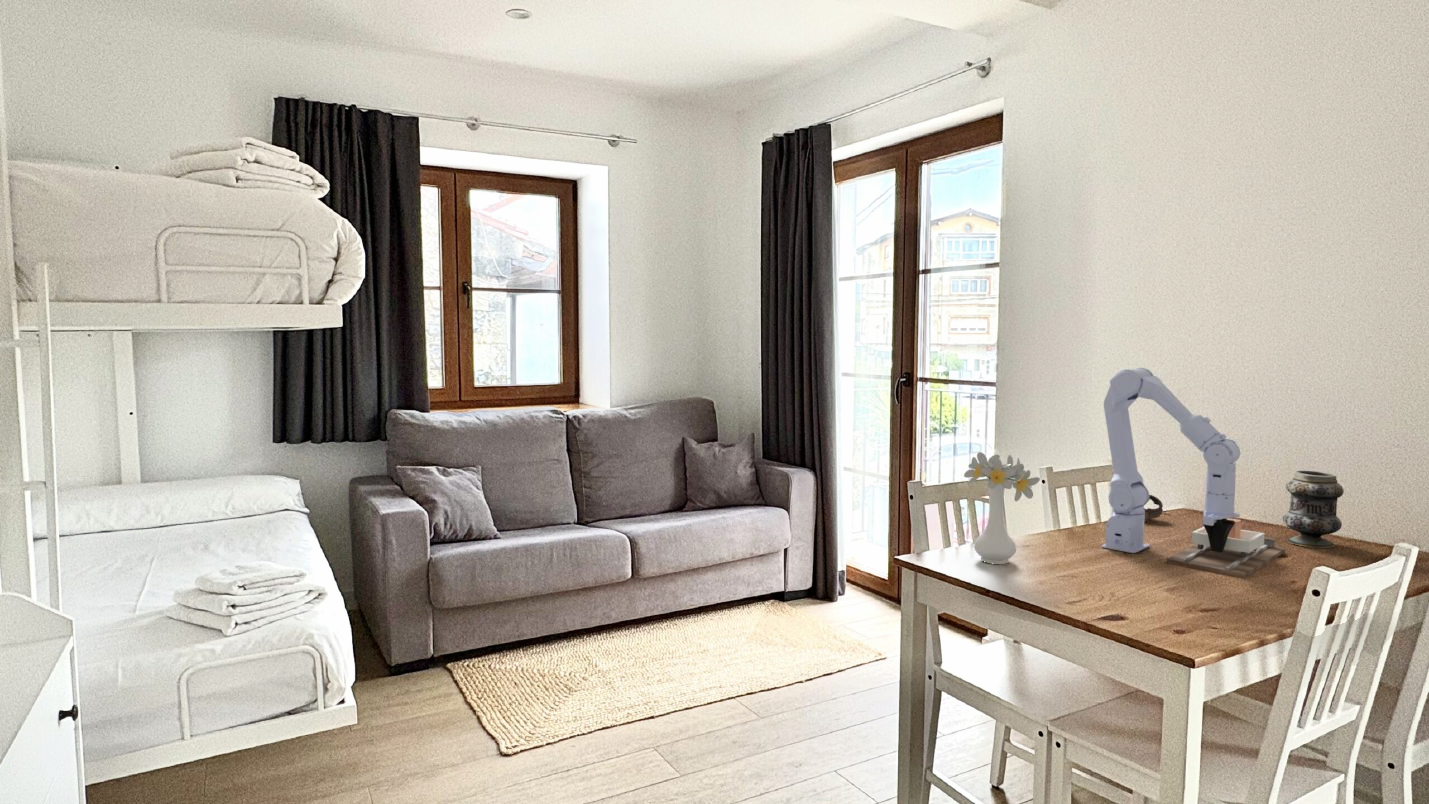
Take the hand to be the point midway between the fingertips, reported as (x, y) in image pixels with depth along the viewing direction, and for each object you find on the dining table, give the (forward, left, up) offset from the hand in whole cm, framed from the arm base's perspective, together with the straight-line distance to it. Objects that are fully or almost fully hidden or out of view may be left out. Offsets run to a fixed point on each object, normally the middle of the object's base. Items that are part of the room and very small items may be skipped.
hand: (1217, 551), depth 195 cm
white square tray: (+7, 0, -1) cm, 7 cm away
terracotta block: (+7, 0, +1) cm, 7 cm away
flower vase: (-35, +35, -3) cm, 50 cm away
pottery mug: (+33, +30, -3) cm, 45 cm away
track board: (+7, 0, -3) cm, 8 cm away
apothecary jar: (+36, -10, -3) cm, 38 cm away
